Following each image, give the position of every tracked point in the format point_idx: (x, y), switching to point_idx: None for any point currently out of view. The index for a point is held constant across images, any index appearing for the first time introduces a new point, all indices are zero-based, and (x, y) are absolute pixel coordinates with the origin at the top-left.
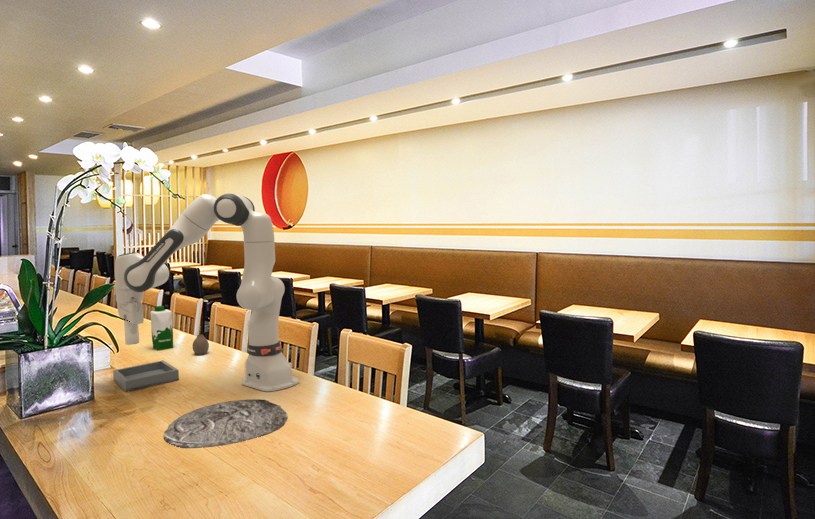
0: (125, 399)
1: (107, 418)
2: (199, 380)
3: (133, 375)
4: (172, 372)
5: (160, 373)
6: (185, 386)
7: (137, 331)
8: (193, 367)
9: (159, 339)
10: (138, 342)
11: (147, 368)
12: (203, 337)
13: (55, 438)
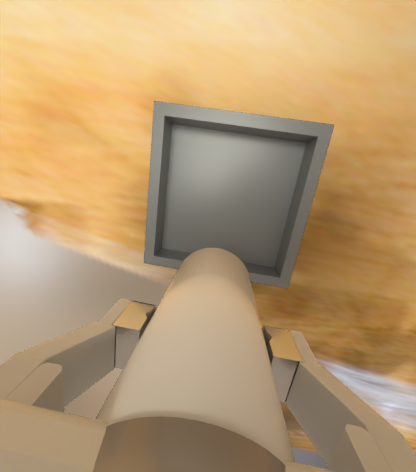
0: (330, 296)
1: (408, 361)
2: (390, 87)
3: (174, 213)
4: (325, 149)
5: (312, 189)
6: (396, 152)
7: (253, 309)
8: (226, 18)
9: None
10: (242, 262)
11: (165, 168)
12: None
13: (406, 432)
